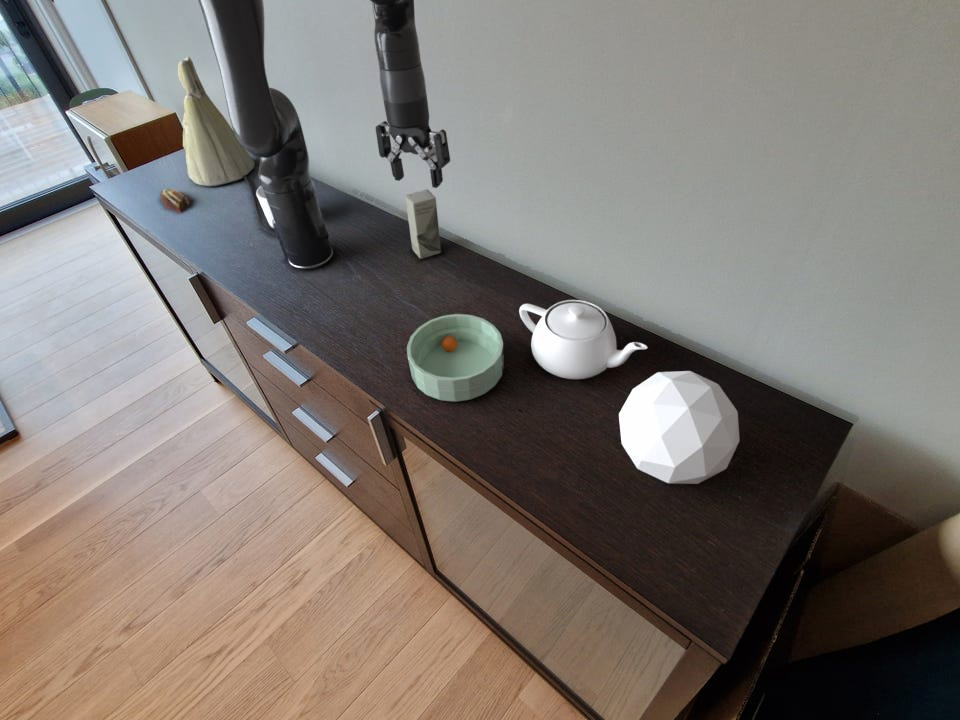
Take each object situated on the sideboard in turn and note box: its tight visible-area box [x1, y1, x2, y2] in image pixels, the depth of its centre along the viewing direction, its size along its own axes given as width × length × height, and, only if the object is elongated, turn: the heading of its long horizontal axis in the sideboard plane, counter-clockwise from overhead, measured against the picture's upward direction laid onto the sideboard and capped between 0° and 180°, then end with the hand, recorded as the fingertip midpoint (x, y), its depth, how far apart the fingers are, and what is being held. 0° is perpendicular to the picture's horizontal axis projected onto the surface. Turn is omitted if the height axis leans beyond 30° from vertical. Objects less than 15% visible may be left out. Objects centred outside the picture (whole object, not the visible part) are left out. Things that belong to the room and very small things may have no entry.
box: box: [404, 189, 442, 259], centre depth 108 cm, size 5×4×13 cm
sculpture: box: [177, 55, 255, 187], centre depth 136 cm, size 17×18×30 cm
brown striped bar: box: [160, 188, 191, 213], centre depth 135 cm, size 14×6×2 cm, turn 50°
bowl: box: [406, 313, 505, 403], centre depth 86 cm, size 15×15×6 cm
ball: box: [442, 337, 458, 352], centre depth 89 cm, size 3×3×3 cm
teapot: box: [518, 299, 649, 380], centre depth 84 cm, size 22×14×11 cm, turn 54°
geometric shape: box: [618, 370, 740, 485], centre depth 68 cm, size 14×15×15 cm
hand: (418, 182), depth 102 cm, fingers open, 8 cm apart
